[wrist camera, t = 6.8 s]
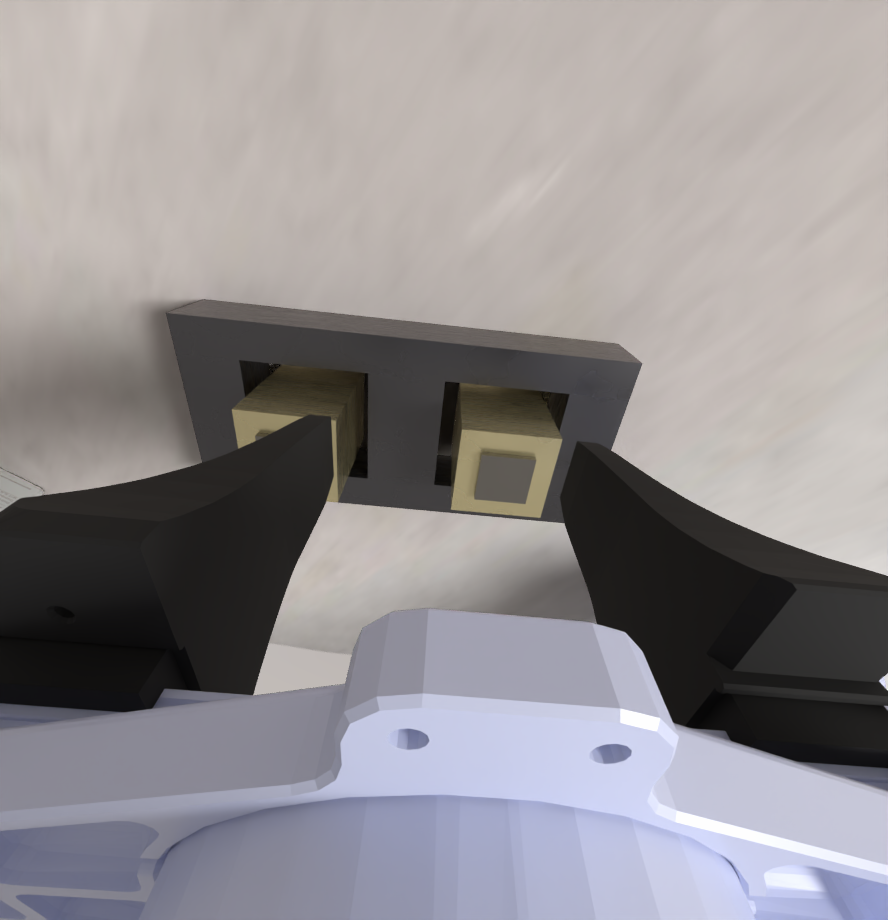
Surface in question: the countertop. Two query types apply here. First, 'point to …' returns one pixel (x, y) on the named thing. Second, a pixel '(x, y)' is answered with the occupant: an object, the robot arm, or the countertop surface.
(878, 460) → the countertop surface
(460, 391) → the seated nut
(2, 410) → the countertop surface
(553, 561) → the countertop surface
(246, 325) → the rail
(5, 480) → the supplement box
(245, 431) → the block
